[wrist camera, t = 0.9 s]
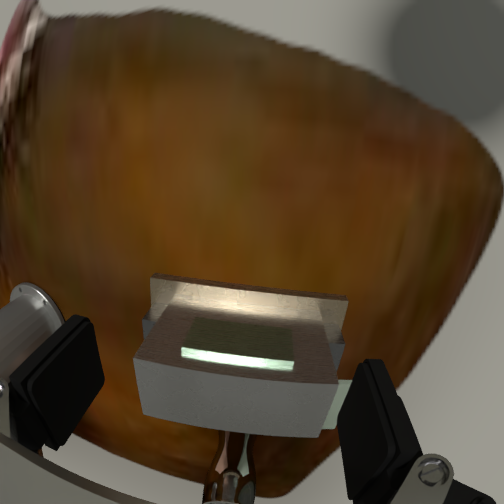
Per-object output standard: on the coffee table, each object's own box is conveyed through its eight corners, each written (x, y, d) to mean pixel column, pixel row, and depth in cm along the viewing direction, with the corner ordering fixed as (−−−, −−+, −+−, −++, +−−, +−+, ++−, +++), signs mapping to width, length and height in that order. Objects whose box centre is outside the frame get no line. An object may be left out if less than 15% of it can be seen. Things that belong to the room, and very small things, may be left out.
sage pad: (352, 380, 37) (353, 383, 36) (333, 425, 40) (334, 428, 39) (280, 376, 37) (280, 380, 36) (270, 422, 40) (270, 426, 39)
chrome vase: (212, 418, 41) (193, 498, 26) (257, 418, 40) (250, 502, 26) (220, 443, 43) (206, 516, 28) (262, 443, 42) (257, 519, 28)
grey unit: (345, 295, 33) (380, 370, 20) (327, 363, 36) (344, 445, 23) (154, 272, 34) (97, 334, 21) (158, 343, 37) (117, 415, 24)
